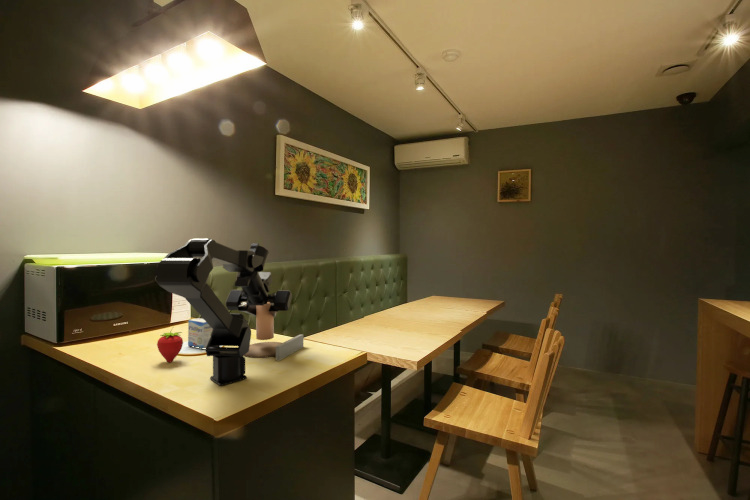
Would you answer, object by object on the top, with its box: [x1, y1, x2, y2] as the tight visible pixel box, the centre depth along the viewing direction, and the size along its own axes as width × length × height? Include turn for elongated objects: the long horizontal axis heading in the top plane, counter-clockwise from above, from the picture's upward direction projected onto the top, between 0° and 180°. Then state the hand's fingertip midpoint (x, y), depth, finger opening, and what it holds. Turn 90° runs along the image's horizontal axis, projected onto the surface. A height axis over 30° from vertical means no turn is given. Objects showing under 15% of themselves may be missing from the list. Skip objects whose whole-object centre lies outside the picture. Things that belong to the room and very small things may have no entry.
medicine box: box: [187, 317, 213, 348], centre depth 114 cm, size 8×4×9 cm, turn 62°
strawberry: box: [156, 326, 184, 364], centre depth 98 cm, size 6×8×10 cm
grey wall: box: [275, 334, 304, 361], centre depth 106 cm, size 14×1×4 cm, turn 163°
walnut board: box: [243, 341, 282, 359], centre depth 109 cm, size 14×14×1 cm
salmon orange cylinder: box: [255, 302, 275, 341], centre depth 109 cm, size 5×5×11 cm
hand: (266, 315), depth 110 cm, fingers closed on salmon orange cylinder, 5 cm apart
